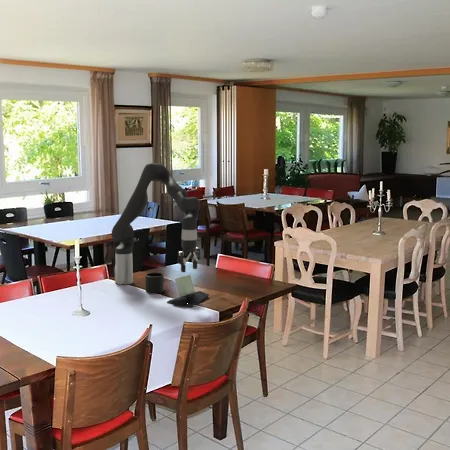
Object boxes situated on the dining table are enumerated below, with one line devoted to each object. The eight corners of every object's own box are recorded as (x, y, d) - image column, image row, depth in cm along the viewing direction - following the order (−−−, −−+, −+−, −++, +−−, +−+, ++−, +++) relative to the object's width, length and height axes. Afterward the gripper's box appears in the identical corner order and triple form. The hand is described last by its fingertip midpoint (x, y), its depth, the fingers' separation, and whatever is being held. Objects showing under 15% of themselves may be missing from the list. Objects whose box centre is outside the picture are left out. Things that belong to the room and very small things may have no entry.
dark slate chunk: (214, 299, 285) (214, 290, 284) (188, 310, 266) (188, 300, 266) (189, 294, 293) (189, 285, 292) (163, 305, 275) (163, 295, 274)
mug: (170, 289, 299) (170, 273, 298) (154, 294, 290) (154, 277, 288) (157, 286, 305) (157, 270, 303) (142, 291, 295) (141, 275, 294)
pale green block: (179, 296, 278) (174, 278, 279) (187, 293, 282) (182, 276, 283) (187, 294, 274) (182, 276, 275) (195, 292, 279) (190, 274, 279)
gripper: (193, 235, 280) (193, 266, 283) (173, 239, 269) (173, 271, 272) (204, 237, 276) (204, 269, 278) (185, 241, 265) (185, 274, 267)
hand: (189, 270), depth 275 cm, fingers open, 8 cm apart
